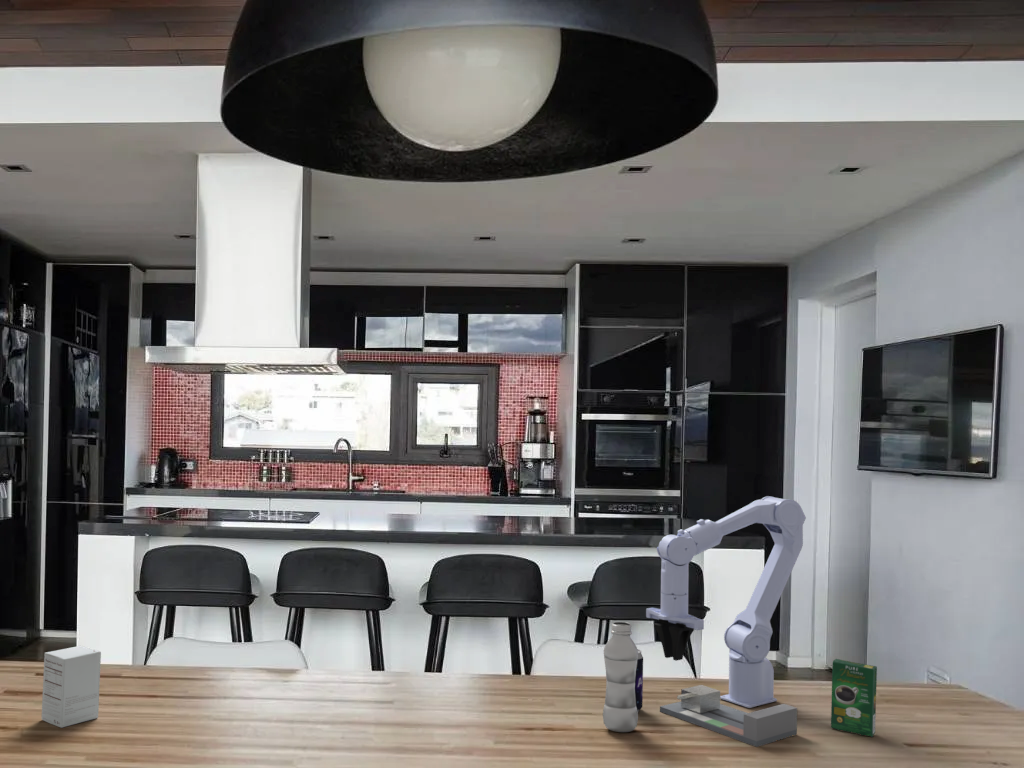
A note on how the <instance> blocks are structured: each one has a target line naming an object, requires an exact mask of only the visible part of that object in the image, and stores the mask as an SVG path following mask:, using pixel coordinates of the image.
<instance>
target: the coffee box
mask: <svg viewBox="0 0 1024 768" xmlns="http://www.w3.org/2000/svg"><path fill="white" fill-rule="evenodd" d="M831 672H832V674H831V702H830V703H831V705H830V706H831V709H830V710H831V713H830V729H833V728H834V730H837V731H840V730H843V731H842V732H847V733H851V732H852V733H853V734H856V733H857V735H860V734H861V736H863V735H866V736H867V737H869V736H871V738H873V737H874V736H873V735H875V734H876V717H877V715H876V713H877V712H876V709H877V681H878V680H877V678H878V677H877V675H878V673H877V672H878V666H876V665H870V664H865V663H860V662H855V661H850V660H849V661H848V660H844V659H839V658H835V659H834V660H832V671H831ZM852 733H851V734H852Z"/></svg>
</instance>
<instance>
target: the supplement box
mask: <svg viewBox="0 0 1024 768" xmlns="http://www.w3.org/2000/svg"><path fill="white" fill-rule="evenodd" d="M43 656H44V658H43V678H42V679H43V680H42V681H43V682H42V701H41V720H42V721H44V722H46V723H48V724H50V725H53V726H55V727H59V728H61V729H62V728H66V727H69V726H73V725H76V724H80V723H84V722H88V721H91V720H95V719H98V718H99V710H100V709H99V705H100V685H101V683H100V681H101V662H102V661H101V659H102V652H101V651H100V650H97V649H94V648H91V647H88V646H83V645H77V646H73V647H68V648H67V647H66V648H62V649H57V650H51V651H47V652H44V654H43Z"/></svg>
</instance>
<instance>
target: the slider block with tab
mask: <svg viewBox="0 0 1024 768" xmlns="http://www.w3.org/2000/svg"><path fill="white" fill-rule="evenodd" d="M680 692H681V693H680V695H679V694H678V695H676V696H677V697H676V698H677V700H680V702H681V707H683V708H686V709H689V710H692V711H694V712H697V713H704V712H708V711H712V710H716V709H720V704H721V699H720V696H721V690H718V689H716V688H712V687H709V686H707V685H703V684H699V685H694V686H691V687H685V688H682V689H681V691H680Z"/></svg>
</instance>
